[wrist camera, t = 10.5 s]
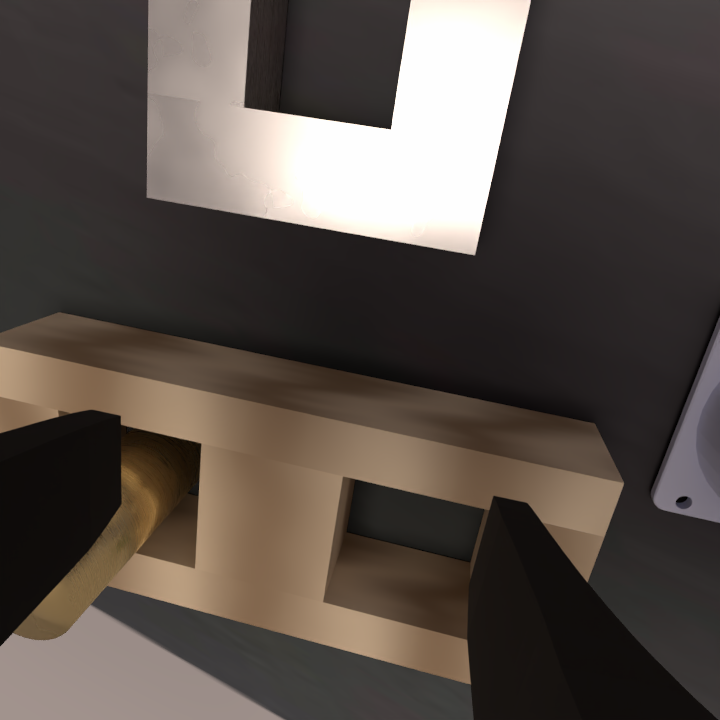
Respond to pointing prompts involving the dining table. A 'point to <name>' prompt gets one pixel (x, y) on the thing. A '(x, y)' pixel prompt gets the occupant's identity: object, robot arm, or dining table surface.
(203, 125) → the socket block
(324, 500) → the rack
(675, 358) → the dining table surface
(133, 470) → the tan brown peg
